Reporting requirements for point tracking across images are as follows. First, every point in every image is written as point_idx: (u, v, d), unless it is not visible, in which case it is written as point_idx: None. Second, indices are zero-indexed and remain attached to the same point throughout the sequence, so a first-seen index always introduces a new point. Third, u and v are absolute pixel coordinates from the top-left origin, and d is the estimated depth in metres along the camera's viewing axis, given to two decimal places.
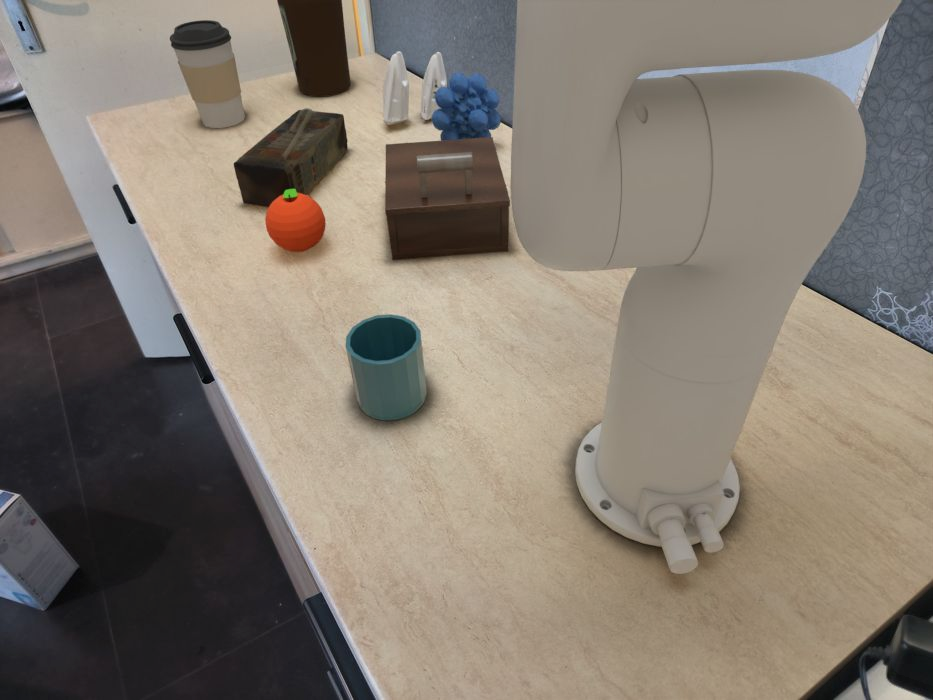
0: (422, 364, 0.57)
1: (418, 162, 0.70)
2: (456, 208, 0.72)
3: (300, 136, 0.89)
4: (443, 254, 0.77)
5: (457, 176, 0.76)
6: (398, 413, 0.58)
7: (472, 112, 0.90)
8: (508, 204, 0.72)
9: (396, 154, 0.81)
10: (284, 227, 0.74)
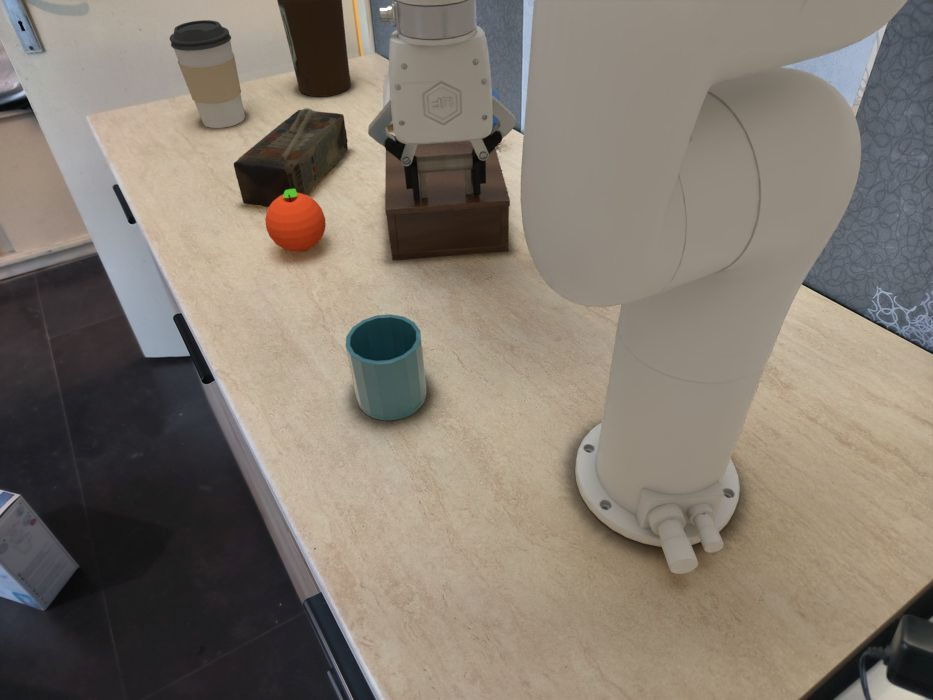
0: (422, 364, 0.57)
1: (418, 162, 0.70)
2: (456, 208, 0.72)
3: (300, 136, 0.89)
4: (443, 254, 0.77)
5: (457, 176, 0.76)
6: (398, 413, 0.58)
7: None
8: (508, 204, 0.72)
9: None
10: (284, 227, 0.74)
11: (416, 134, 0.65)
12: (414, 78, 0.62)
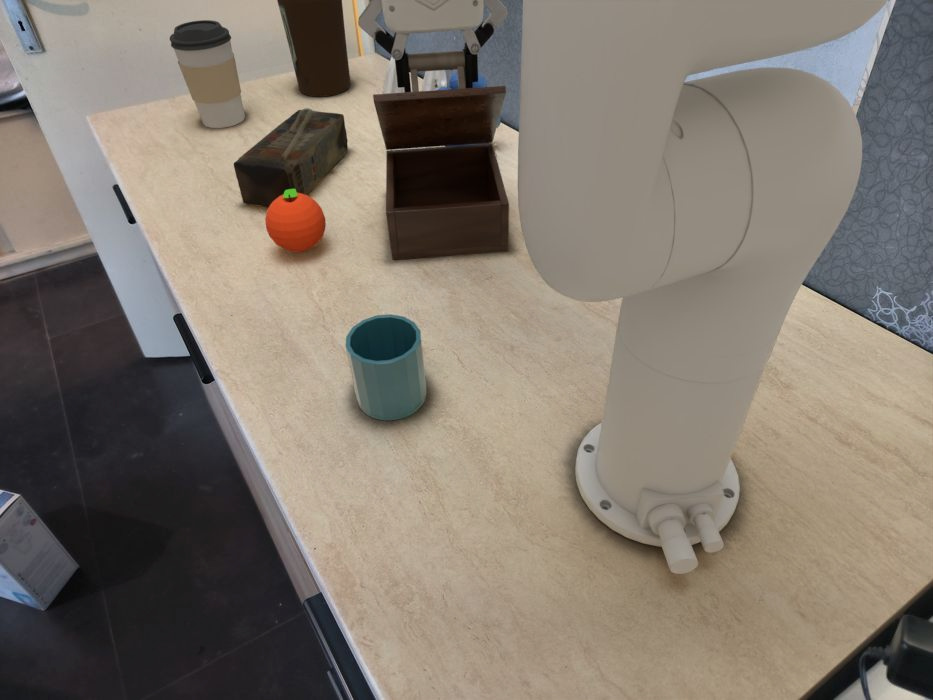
0: (422, 364, 0.57)
1: (409, 54, 0.69)
2: (448, 94, 0.68)
3: (300, 136, 0.89)
4: (443, 254, 0.77)
5: None
6: (398, 413, 0.58)
7: None
8: (504, 90, 0.68)
9: None
10: (284, 227, 0.74)
11: (406, 21, 0.65)
12: None
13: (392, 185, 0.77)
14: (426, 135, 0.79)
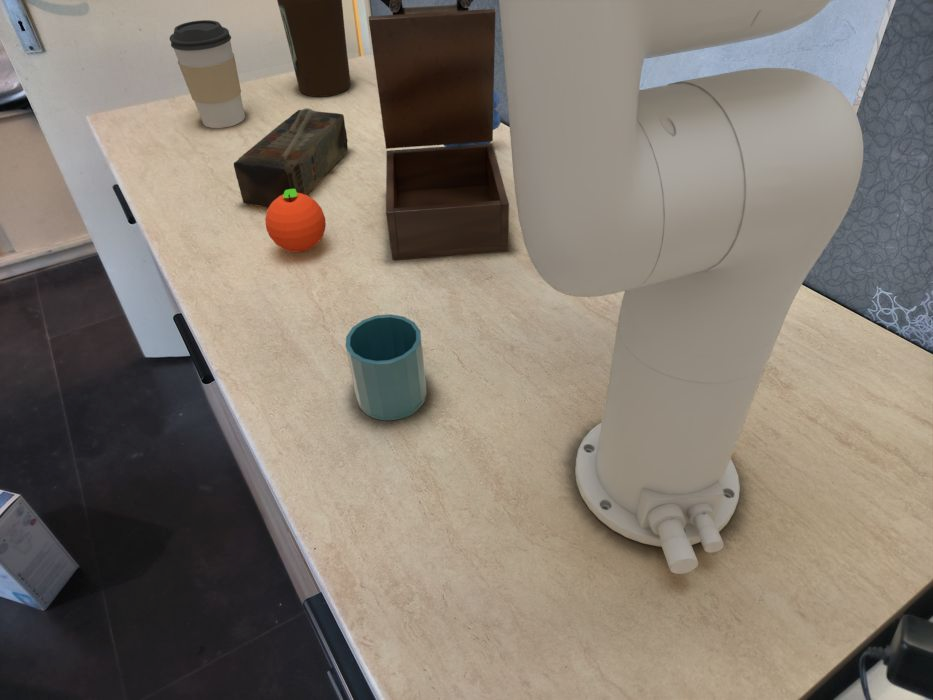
0: (422, 364, 0.57)
1: None
2: (440, 14, 0.71)
3: (300, 136, 0.89)
4: (443, 254, 0.77)
5: None
6: (398, 413, 0.58)
7: None
8: (493, 10, 0.71)
9: None
10: (284, 227, 0.74)
11: None
12: None
13: (392, 185, 0.77)
14: (424, 112, 0.80)
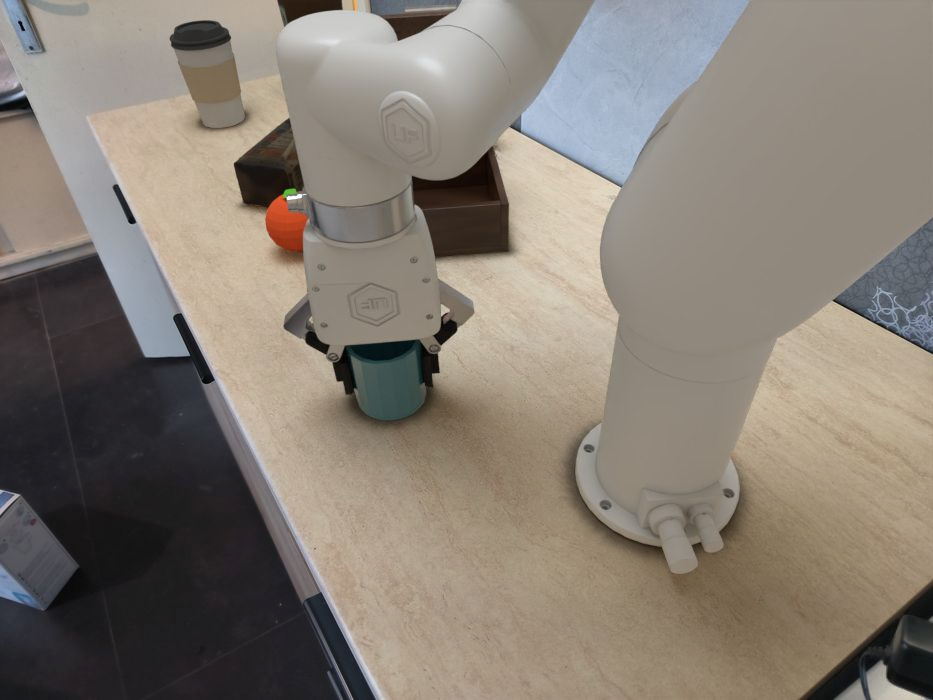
0: (422, 364, 0.57)
1: (405, 7, 0.75)
2: (440, 13, 0.71)
3: None
4: (443, 254, 0.77)
5: None
6: (398, 413, 0.58)
7: None
8: None
9: None
10: (284, 227, 0.74)
11: (343, 336, 0.52)
12: (335, 279, 0.48)
13: None
14: None
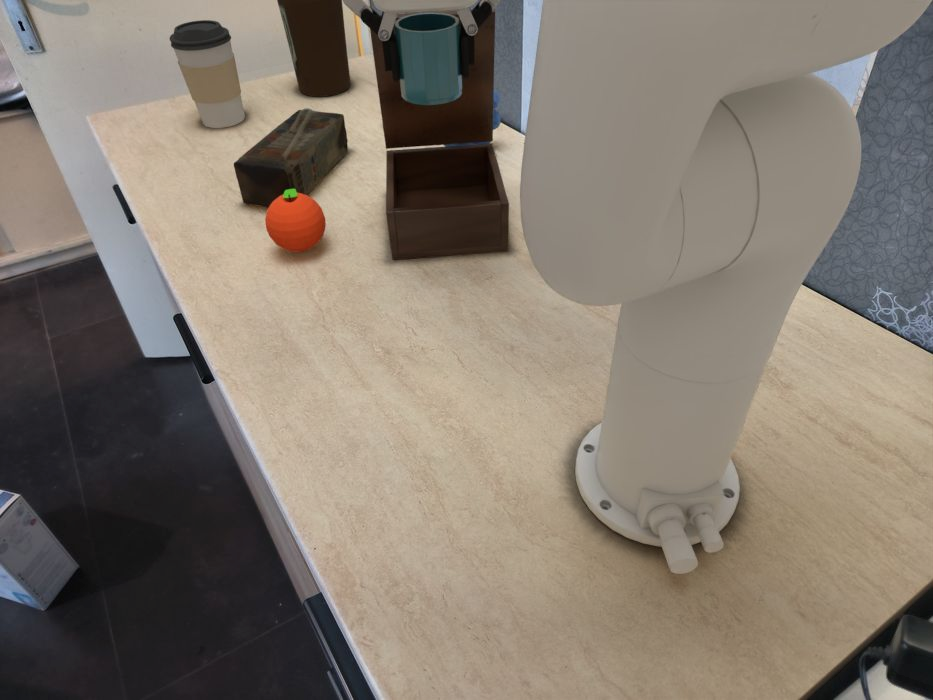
0: (460, 51, 0.65)
1: None
2: None
3: (300, 136, 0.89)
4: (443, 254, 0.77)
5: None
6: (439, 96, 0.66)
7: None
8: (493, 10, 0.71)
9: None
10: (284, 227, 0.74)
11: None
12: None
13: (392, 185, 0.77)
14: (424, 112, 0.80)
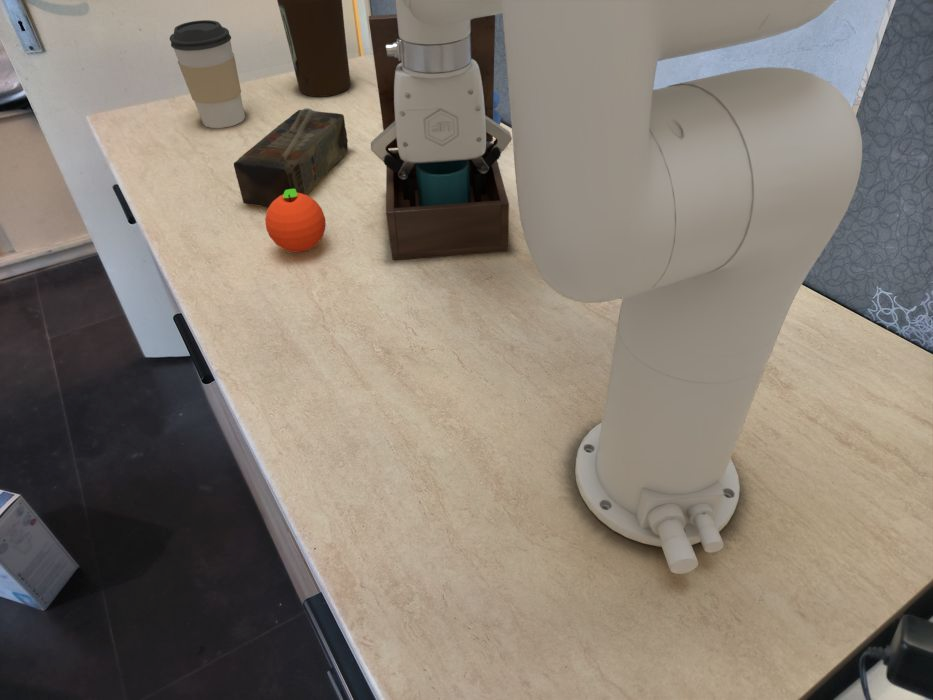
0: (469, 185, 0.79)
1: None
2: None
3: (300, 136, 0.89)
4: (443, 254, 0.77)
5: None
6: None
7: None
8: None
9: None
10: (284, 227, 0.74)
11: (418, 154, 0.74)
12: (416, 106, 0.70)
13: (392, 185, 0.77)
14: None
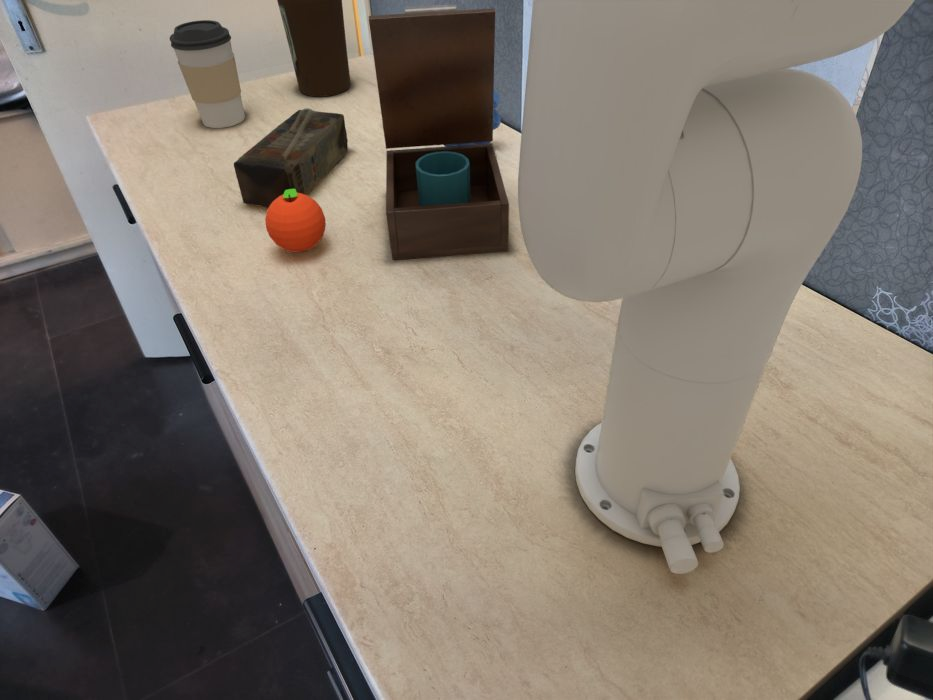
0: (469, 185, 0.79)
1: (405, 7, 0.75)
2: (440, 13, 0.71)
3: (300, 136, 0.89)
4: (443, 254, 0.77)
5: None
6: None
7: None
8: (493, 10, 0.71)
9: None
10: (284, 227, 0.74)
11: None
12: None
13: (392, 185, 0.77)
14: (424, 112, 0.80)
